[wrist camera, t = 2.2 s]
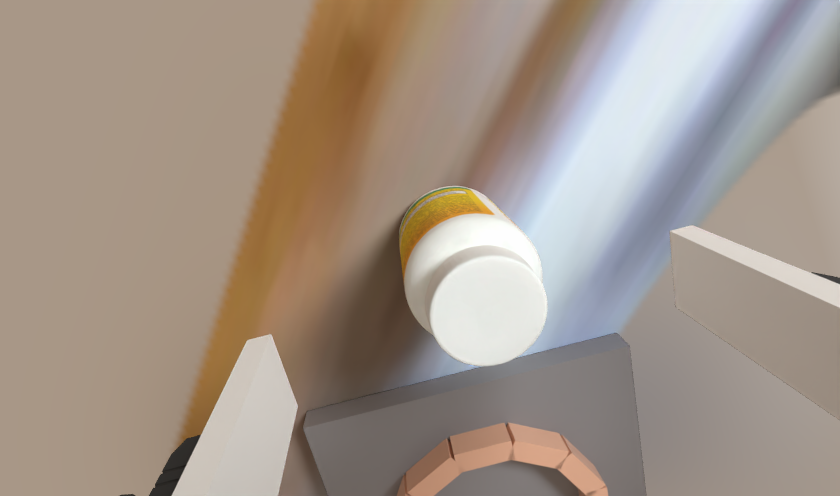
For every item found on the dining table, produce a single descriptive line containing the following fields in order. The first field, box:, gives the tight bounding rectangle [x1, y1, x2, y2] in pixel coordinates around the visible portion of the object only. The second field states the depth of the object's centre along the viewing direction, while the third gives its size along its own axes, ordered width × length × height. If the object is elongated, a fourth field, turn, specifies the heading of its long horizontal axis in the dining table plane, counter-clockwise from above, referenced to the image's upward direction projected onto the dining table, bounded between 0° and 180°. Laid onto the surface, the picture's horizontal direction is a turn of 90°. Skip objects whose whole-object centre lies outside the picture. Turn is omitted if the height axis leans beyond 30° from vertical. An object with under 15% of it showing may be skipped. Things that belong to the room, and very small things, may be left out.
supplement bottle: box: [399, 186, 548, 366], centre depth 21 cm, size 5×5×10 cm
